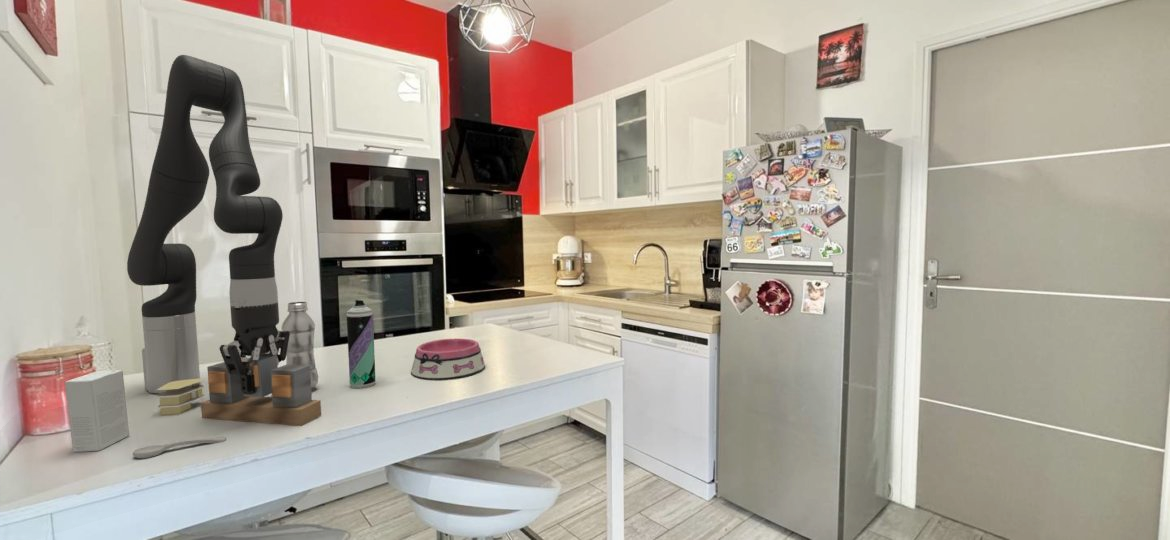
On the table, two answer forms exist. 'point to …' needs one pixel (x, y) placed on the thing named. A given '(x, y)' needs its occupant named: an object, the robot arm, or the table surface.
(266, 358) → the grey block
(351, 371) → the spray can
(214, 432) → the table surface
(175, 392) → the stacked layers on plate
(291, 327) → the plastic bottle
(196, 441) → the spoon
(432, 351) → the dog bowl
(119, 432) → the skincare box
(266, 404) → the rail
